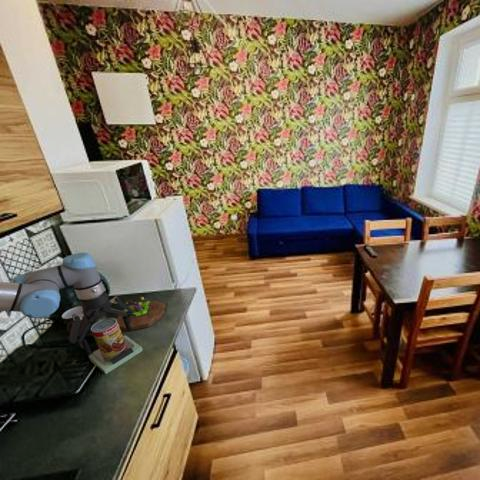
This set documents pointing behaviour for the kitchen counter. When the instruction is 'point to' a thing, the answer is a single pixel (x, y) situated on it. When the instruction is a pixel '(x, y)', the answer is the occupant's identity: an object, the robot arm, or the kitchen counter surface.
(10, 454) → the kitchen counter surface
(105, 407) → the kitchen counter surface
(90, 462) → the kitchen counter surface
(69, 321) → the coffee mug
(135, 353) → the scale
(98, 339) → the canned food
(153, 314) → the plant
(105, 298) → the robot arm
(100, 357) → the scale pan
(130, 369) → the kitchen counter surface
